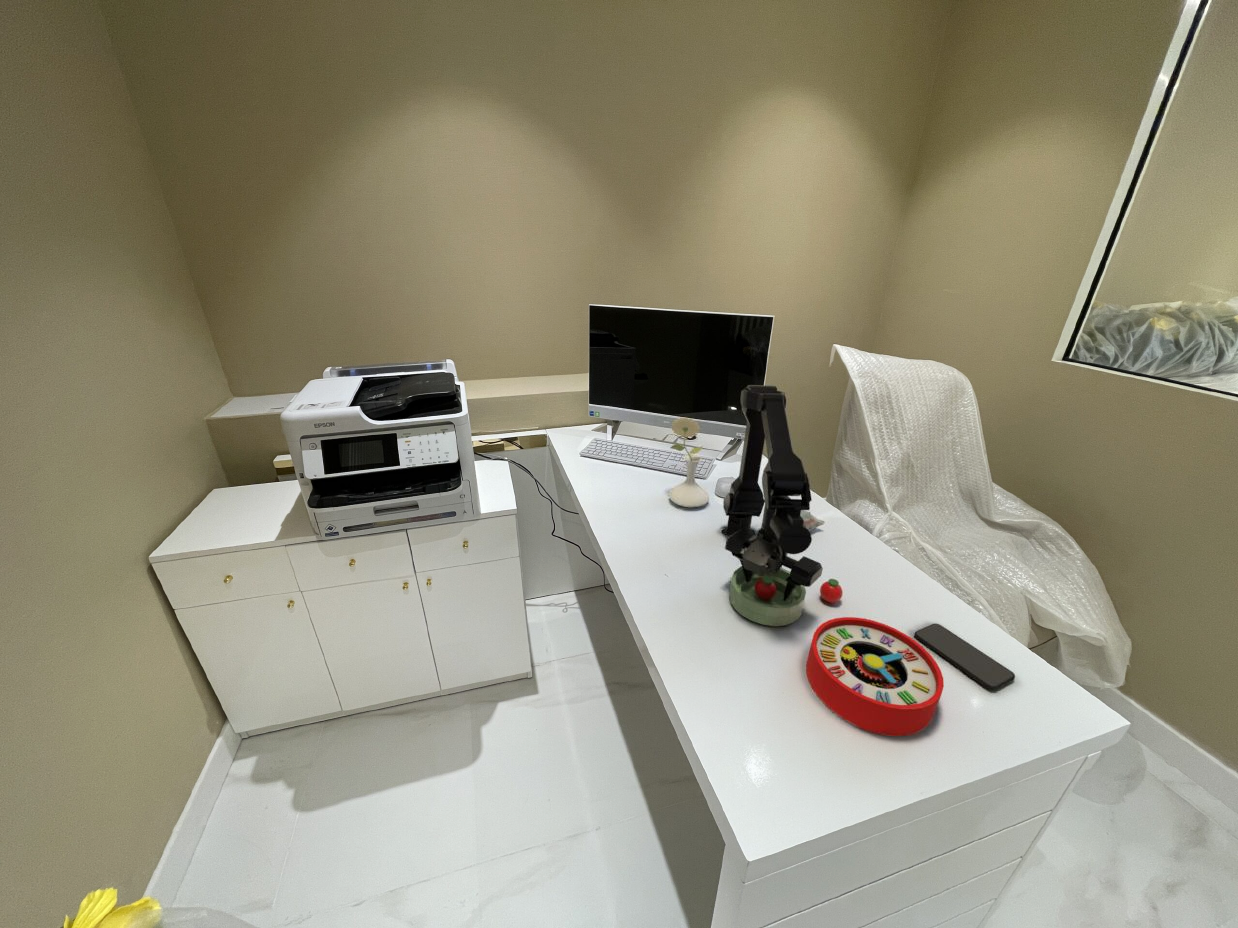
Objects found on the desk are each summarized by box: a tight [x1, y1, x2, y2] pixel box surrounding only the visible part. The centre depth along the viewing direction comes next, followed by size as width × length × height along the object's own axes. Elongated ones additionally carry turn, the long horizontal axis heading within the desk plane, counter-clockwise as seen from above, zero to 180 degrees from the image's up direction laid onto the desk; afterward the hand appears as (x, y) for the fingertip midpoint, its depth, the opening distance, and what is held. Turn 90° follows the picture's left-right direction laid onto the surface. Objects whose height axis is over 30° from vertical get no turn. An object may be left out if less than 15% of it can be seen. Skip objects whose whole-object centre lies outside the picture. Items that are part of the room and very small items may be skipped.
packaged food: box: [800, 510, 826, 531], centre depth 131 cm, size 9×12×5 cm
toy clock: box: [805, 616, 945, 737], centre depth 85 cm, size 20×6×20 cm
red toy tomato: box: [819, 578, 844, 604], centre depth 105 cm, size 4×4×5 cm
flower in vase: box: [668, 416, 710, 508], centre depth 140 cm, size 13×11×25 cm
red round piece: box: [754, 577, 776, 600], centre depth 105 cm, size 4×4×5 cm
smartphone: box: [913, 623, 1016, 691], centre depth 92 cm, size 7×1×15 cm
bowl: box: [728, 565, 807, 627], centre depth 104 cm, size 15×15×5 cm
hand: (766, 590), depth 105 cm, fingers open, 8 cm apart
